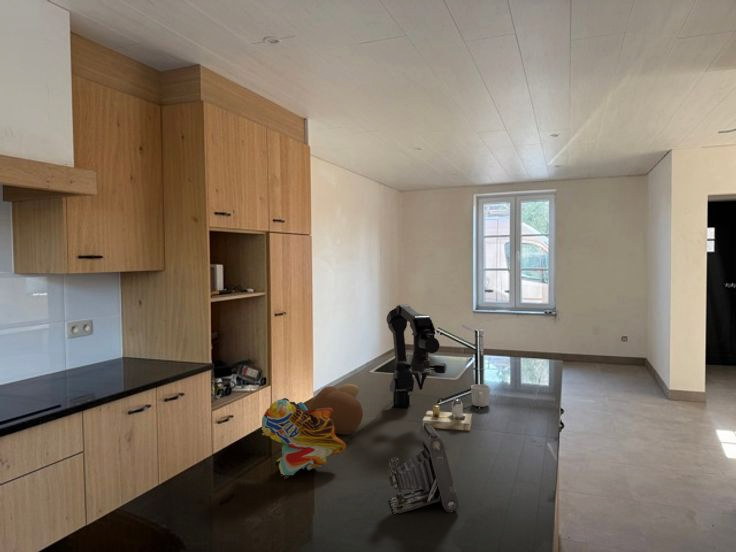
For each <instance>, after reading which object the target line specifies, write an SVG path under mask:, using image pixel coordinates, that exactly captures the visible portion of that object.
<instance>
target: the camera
mask: <svg viewBox="0 0 736 552" xmlns="http://www.w3.org/2000/svg"><path fill="white" fill-rule="evenodd" d="M419 432H420V433H419V435H420V440H421V443H422V447H423V450H421V451H419V452H418V453H417V454H415V455H413V457H412V458H409V459H407V461H406V462H404V463H401V464H400V459H399V457H392V458H389V459H388V461H389V463H388V469H389V472H390V476H388V480H389V483H390V486H391V487H393V490H398V491H397V493H396V496H393V497H390V498H388V501H389V500H390V499H391V500H393V501H392V504H391V505H390V507H391V506H394V508H397V510H398V512H394V511H392V513H393V512H394V513H399V514H402V513H404V512H405V513H406V512H408V511H409V512H410V511H413V510H416V509H419V508H422V507H425V506H427V505H431V504H433V503H438V502H440V503H441V505H442V507H443V508H444V511H445V512H448V513H449V512H451V511H455V512H456V511H457V510H458V509H459V507H460V501H459V499H458V498H459V497H458V495H457V491H456V487H455V482H454V478H453V474H452V469H451V465H450V462H449V458H448V454H447V447H446V442H444V439H442V437H441V436H440V434H439V433H438V432H437V431H436V428H433V427H432V426H431V425H429V423H424V426H423V425H422V428H421V429H420V431H419ZM399 464H400V466H398V465H399ZM402 490H410V492H406V493H403V492H402ZM411 490H414V491H411ZM390 503H391V502H389V504H390ZM392 509H393V508H391V510H392Z"/></svg>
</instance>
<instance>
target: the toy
mask: <svg viewBox="0 0 736 552" xmlns="http://www.w3.org/2000/svg"><path fill="white" fill-rule="evenodd" d="M359 392H360V390H359V387H358V386H357V385H356V384H352V383H345V384H342V385H341V386H340V387H339V388H338V387H335V386H331V385H330V386H325V387H324V388H322V389H321V390H319V392H318V393H317V394H316V396H314V399H313V400H312V401H311V403H310V404H309V406H308V408H307V409H308V410H313V409H321V408H332V409H333V412H332V414H331V416H330V419H331V420H332V422H333V426H334V429H335V435H336V434H337V435H347V434H350V433H353V432H355V431H356V430H357V429H358V428H359V427H360V425H361V423H362V421H363V416H364V410H363V406H362V404H361V402H360V401H359V400H358V399H357V398H356V397H357V396H358V395H359Z"/></svg>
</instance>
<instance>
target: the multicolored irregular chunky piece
mask: <svg viewBox="0 0 736 552" xmlns="http://www.w3.org/2000/svg"><path fill="white" fill-rule="evenodd" d="M308 409H309V408H307V406H306V405H305V403H303V402H302V401H299V402H297V403H296V402H295V401H290V400H289V399H288V398H286V397H284V398H281V399H280V398H279V399H277V400H274V402H272V403H271V404H270V405H269V407H268V408H267V409H266V411H265V412H264V413H263V415H262V418H261V430H262V432H263V433H262V434H261V436H267V437H269V438H270V439H271V440H274V441H276V442H278V443H281V444H282V446H281V457H279V458H278V459H277V460H276V462H279V463H278V467H279V471H280V475H281V474H283V475H292V476H293V475H295V474H296V473H297V472H298V471H299V470H301V469H303V470H305V468H306V469H307V471H310V470H312V469H316V468H315V467H317V468H321V467H322V466H323V465H326V463H327V457H328V456H333V455H338V454H341V453H343V452H344V451H345V450H346V448H347V445H346V443H345V442H344V441H343V440H342V439H340V438H339V437H337V435H336V433H335V429H334V426H333V422H332V420H331V419H330V416H331V414H332V412H333V409H332V408H321V409H313V410H308Z"/></svg>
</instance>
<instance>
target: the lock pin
mask: <svg viewBox="0 0 736 552" xmlns="http://www.w3.org/2000/svg"><path fill="white" fill-rule="evenodd" d="M440 406H441V405H437V404H436V405H435V404H434V405H432V411H433V415H432V417H438V418H449V416H445V415H440V412H441V409H440V408H441V407H440Z"/></svg>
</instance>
